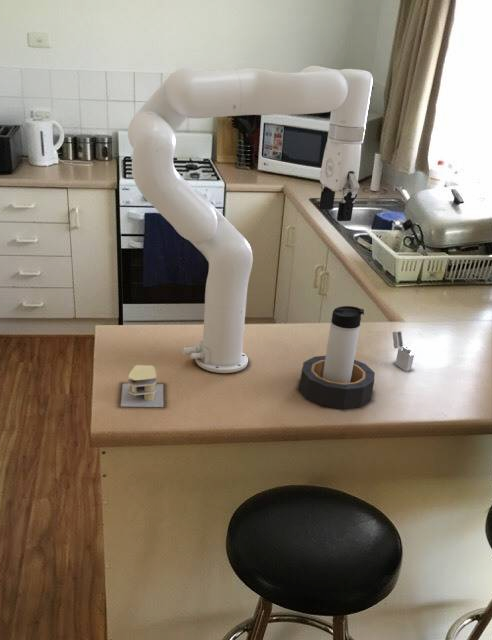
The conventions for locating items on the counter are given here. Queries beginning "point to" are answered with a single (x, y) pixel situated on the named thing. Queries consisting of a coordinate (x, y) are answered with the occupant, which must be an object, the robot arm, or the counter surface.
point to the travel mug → (342, 344)
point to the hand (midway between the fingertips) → (334, 214)
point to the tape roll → (336, 385)
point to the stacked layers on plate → (142, 388)
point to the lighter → (402, 352)
